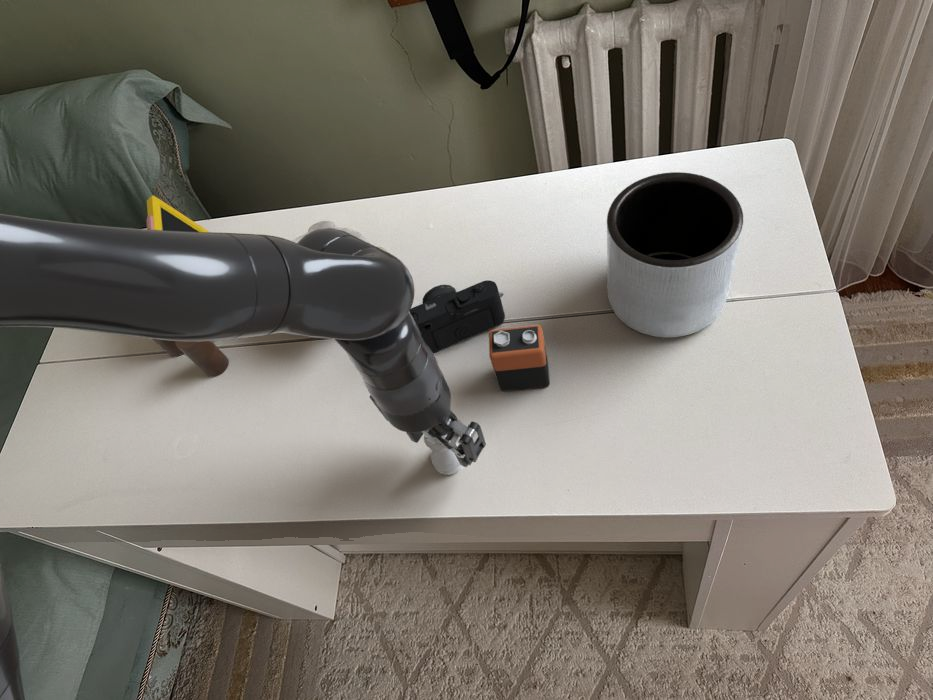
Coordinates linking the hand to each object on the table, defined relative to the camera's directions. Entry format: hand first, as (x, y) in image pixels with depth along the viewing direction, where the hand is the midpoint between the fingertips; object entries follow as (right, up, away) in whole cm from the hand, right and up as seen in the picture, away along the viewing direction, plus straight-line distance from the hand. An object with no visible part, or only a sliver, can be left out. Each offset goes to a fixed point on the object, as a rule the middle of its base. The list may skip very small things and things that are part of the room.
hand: (443, 447), depth 78 cm
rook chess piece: (+1, -2, +3) cm, 4 cm away
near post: (-36, +10, +20) cm, 42 cm away
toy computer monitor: (-40, +21, +28) cm, 54 cm away
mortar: (-17, +19, +22) cm, 34 cm away
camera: (+2, +16, +15) cm, 22 cm away
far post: (-44, +13, +24) cm, 51 cm away
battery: (+11, +8, +8) cm, 16 cm away
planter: (+31, +20, +10) cm, 38 cm away
